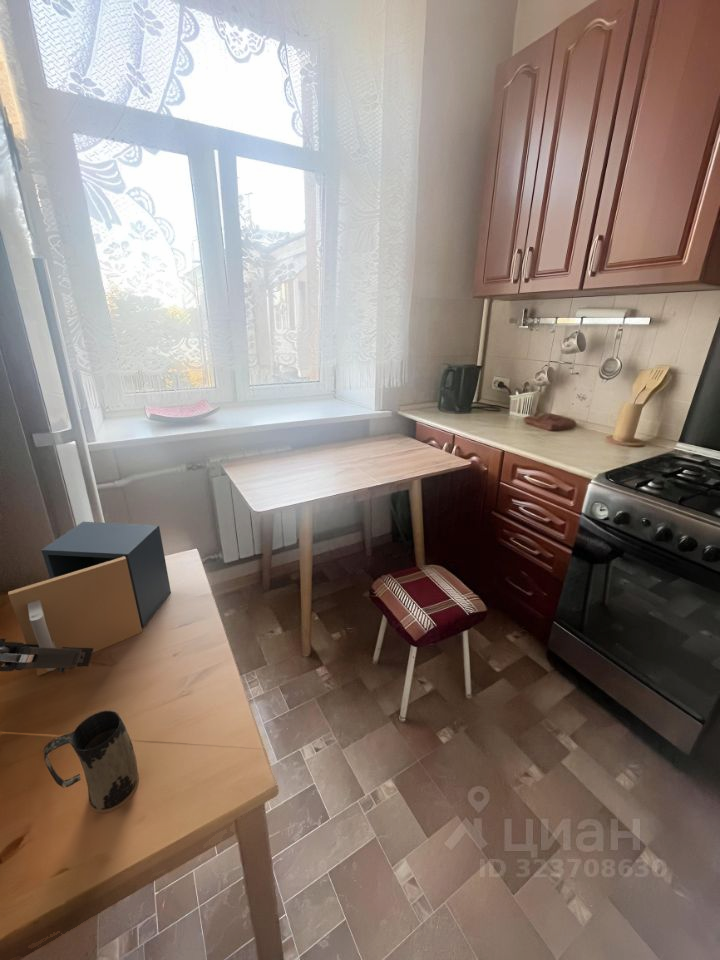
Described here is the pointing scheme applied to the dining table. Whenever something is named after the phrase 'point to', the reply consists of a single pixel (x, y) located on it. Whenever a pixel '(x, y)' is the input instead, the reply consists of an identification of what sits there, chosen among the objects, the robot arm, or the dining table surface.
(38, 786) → the dining table surface
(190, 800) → the dining table surface
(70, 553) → the cupboard
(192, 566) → the dining table surface
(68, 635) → the cupboard door
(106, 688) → the dining table surface
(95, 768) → the mug
